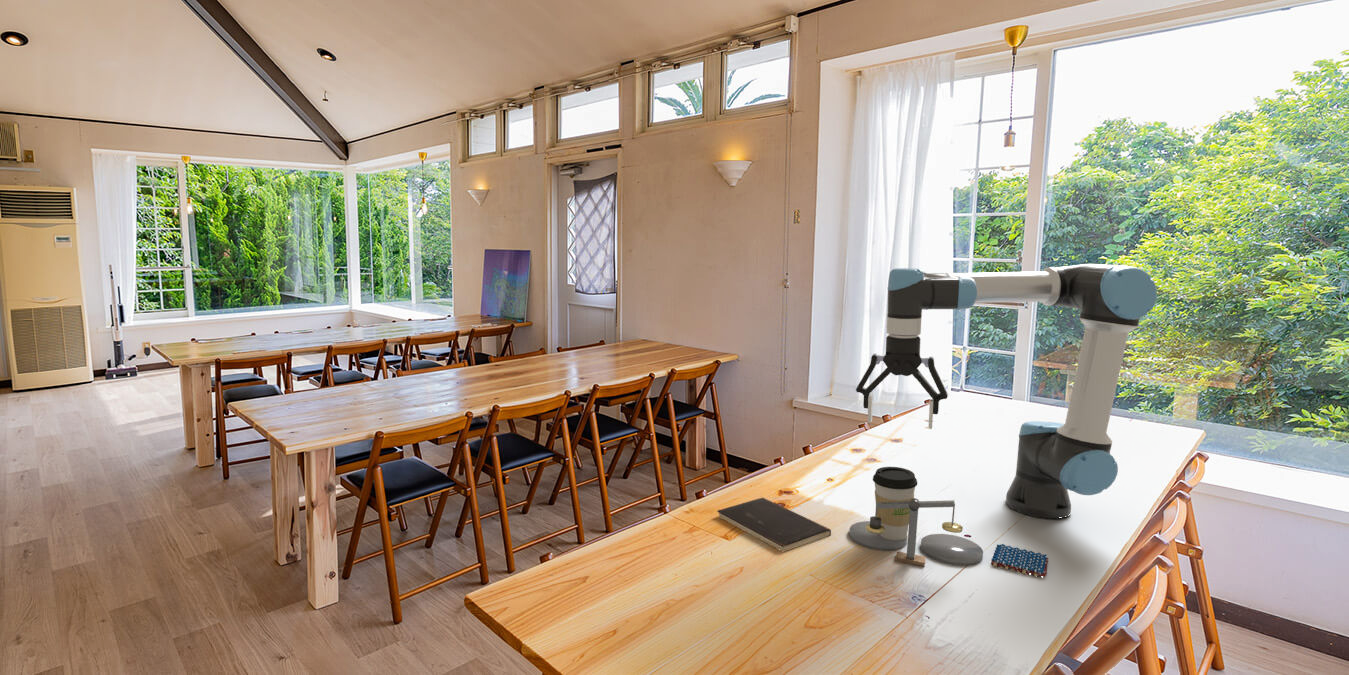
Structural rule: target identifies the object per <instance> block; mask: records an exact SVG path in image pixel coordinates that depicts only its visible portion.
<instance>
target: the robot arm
mask: <svg viewBox="0 0 1349 675" xmlns="http://www.w3.org/2000/svg"><path fill="white" fill-rule="evenodd" d="M1157 297H1158V290H1157V286H1156V283H1155V281H1154V279H1153V278H1152V277H1151V276H1150V274H1149V273H1148V272H1146V271H1145V270H1143V269H1141V268H1139V267H1135V266H1129V265H1125V264H1105V263H1104V264H1100V263H1083V264H1082V263H1081V264H1076V265H1067V266H1056V267H1055V266H1054V267H1051V266H1049V267H1045V268H1044V269H1042V270H1041V271H1004V272H1003V271H1002V272H1001V271H1000V272H999V271H998V272H996V271H995V272H993V271H992V272H945V273H944V272H943V273H942V272H941V273H940V272H939V273H938V272H937V273H936V272H935V273H934V272H933V273H927V272H924V270H923V269H922V268H915V267H914V268H909V267H907V268H906V267H901V268H900V267H899V268H893V269H892V270H890V271H889V276H888V284H887V316H886V334H887V335H886V338H885V354H884V355H879V354H877V353H873V354H872V355H871V357H870V365H869V366H868V368H867V370H866V371H865V373H864V375H863V376H862V377H861V380H860V382H859V383H858V384H857V386H856V388H855V391H856V393H861V394H862V395H863V401H862V402H863V404H862V406H863V408H864V409H867V424H871V423H872V421H873V407H874V405H873V404H874V393H872V392H873V390H876V388H877V387H878V386H879V384H881V383H882V382H883V381H884V380H885V379H886V378H887V377H888V376H889V375H891V374H892V375H894V376H904V377H909V376H913V377H914V378H915V379H916V380H917V382H918V383H919V384H920V386H922V388H923V389H924V390H925V391H926V392H927V394H928V395H929V397H930V398H929V408H928V409H929V410H928V412H929V413H928V429H929V430H932V429H933V422H934V421H933V419H934V417H933V415H938V413H939V409H940V408H939V404H940V401H941V400H947V399H948V395H949V394H948V391H947V389H946V387H945V385H944V383H943V381H942V379H941V377H940V375H939V372H938V371H937V369H936V367H935V358H934V357H933V356H929V357H921V337H920V335H921V332H922V316H923V315H922V314H923V311H924V310H927V311H928V310H956V311H959V310H967V309H970V308H972V307H973V306H974V304H981V303H982V304H983V303H984V304H985V303H989V304H990V303H992V304H993V303H1041V304H1042V305H1043V306H1045V307H1047V306H1048V307H1049V306H1050V307H1051V306H1052V307H1053V306H1054V307H1055V306H1056V307H1065V308H1070V309H1075V310H1079V311H1080V315H1079V321H1080V322H1081V323H1082V324H1083V325H1084V333H1083V335H1082V336H1083V338H1082V341H1081V345H1080V351H1079V356H1078V361H1077V366H1076V371H1075V375H1074V380H1073V383H1072V389H1071V394H1070V398H1069V403H1068V408H1067V413H1066V416H1065V417H1066V418H1065V423H1061V422H1055V421H1054V422H1052V421H1039V420H1038V421H1037V420H1036V421H1026V422H1024V423H1022V424H1021V426H1020V430H1019V434H1018V449H1017V460H1016V470H1015V476H1014V478H1013V480H1012V481H1011V485H1009V488H1008V490H1007V492H1006V496H1005V503H1006V505H1007V506H1008V507H1009V508H1010V509H1012V510H1014V511H1016V512H1017V513H1018V512H1019V513H1021V514H1023V513H1024V515H1027V516H1031V517H1034V516H1035V517H1036V518H1040V517H1042V518H1041V519H1047V518H1059V517H1065V516H1068V515H1069V514H1070V513H1071V512H1072V504H1071V503H1072V502H1071V500H1070V494H1069V491H1070V492H1071V491H1072V492H1074V493H1076V494H1078V495H1082V496H1095V495H1098V494H1100V493H1102V492H1103V491H1104V490H1108V488H1110V487H1111V486H1112V484H1113V483H1114V482H1115V481H1116V478H1117V476H1118V473H1119V472H1118V470H1119V467H1118V466H1119V465H1118V463H1117V461H1116V460H1115V457H1114V456H1113V455H1112V454H1111V449H1112V445H1113V440H1112V439H1111V438H1110V436H1109V435H1108V434H1107V431H1108V428H1109V422H1110V417H1111V413H1112V409H1113V404H1114V399H1115V397H1116V396H1115V395H1116V391H1117V386H1118V382H1119V377H1120V373H1121V368H1122V363H1123V358H1124V353H1125V349H1126V345H1127V340H1128V337H1129V333H1131V332H1133V331H1134V330H1136V329H1137V328H1138V327H1139V322H1140V319H1141V318H1144V317H1145V316H1147V315H1148V313H1150V312H1151V311H1152V310H1153V309H1154V306H1155V305H1156V303H1157V299H1158V298H1157ZM881 362H883V363H884V365H885V367H886V368H885V369H884V370H883V371H882V372H881V373H880V374H879V375H878V376H877V377H876V378H875V379H874V380H873V381H872V382H871V383H870V384H869V385H868V386H867V387H864V386H865V385H866V384H867V382H868V380H869V378H870V376H871V375H872V373H873V371H874V370H875V368H876V366H877V365H879V364H881ZM921 364H923V366H925V368H928V371H929V373H930V376H931V377H932V380H933V382H934V384H935V385H936V387H937V389H938V390H937V391H938V392H939V393H938V392H937V391H936V389H934V387H933V386H932V385H931V384H930V382H929V381H928V380H927V379H926V378H925V376H924V375H923V373H921V370H919V367H920V366H921ZM1070 515H1071V514H1070ZM1070 515H1069V516H1070ZM1069 516H1068V517H1069Z"/></svg>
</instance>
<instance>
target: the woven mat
mask: <svg viewBox="0 0 1349 675" xmlns="http://www.w3.org/2000/svg"><path fill="white" fill-rule="evenodd" d="M1047 556H1048V555H1047V554H1043V553H1041V552H1036V551H1033V550H1029V549H1028V550H1027V549H1025V548H1023V549H1021V548H1019V547H1017V546H1016V547H1015V546H1011V545H1007V544H1004V543H1002V544H1001V543H1000V544H996V547H995V549H994V552H993V555H992V558H991V562H990V564H991V565H992V566H993V567H999V568H1000V569H1003V568H1004V567H1005V568H1004V569H1005V570H1007V571H1008V570H1009V568H1010V571H1011V570H1012V572H1014V571H1016V573H1017V572H1019V573H1018V574H1020V573H1022V574H1023V575H1028V574H1029V573H1032V574H1031V575H1033V576H1044V577H1046V575H1047V574H1048V573H1047V571H1048V566H1047V564H1048V562H1049V558H1048V557H1047ZM1026 573H1027V574H1026Z"/></svg>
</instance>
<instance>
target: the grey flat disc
mask: <svg viewBox="0 0 1349 675" xmlns="http://www.w3.org/2000/svg"><path fill="white" fill-rule="evenodd" d="M920 549H921V551H922V552H923V553H924V554H925V555H926V556H927V557H929V558H931V559H933V560H936V561H938V562H941V563H944V564H948V565H953V566H974V565H976V564H979V563H981V562H982V560H983V558H984V550H983V548H982V547H981V546H980V545H978V544H977V543H976V542H975V541H972V540H970V539H968V538H965V537H962V536H958V535H954V534H948V533H932V534H927V535H924V536H923V537H922V538H921V541H920Z"/></svg>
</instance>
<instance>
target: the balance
mask: <svg viewBox="0 0 1349 675" xmlns="http://www.w3.org/2000/svg"><path fill="white" fill-rule="evenodd" d="M955 506H956V503H955V499H953V500H951V499H950V500H924V501H923V500H919V499H918V498H915V497H914V498H913V499H911V501H910V502H877V503H876V502H875V515H874V516H870V517H869V521H870V524H867V525H866V530H867V531H868V532H871V533H875V534H881V533H884V531H885V528H884V527H883V526H882V525H881V518H880V517H877V509H887V508H910V516H909V526H908V532H907V544H906V552H903V551H898V550H897V551H896V554H895V556H894V557H895V560H894V561H895V562H897V563H902V564H906V565H912V566H916V567H922V568H924V567H925V565H926V556H923V555H919V554H916V544H917V533H918V532H917V530H918V518H919V509H921V508H922V509H923V508H926V509H927V508H928V509H929V508H931V509H933V508H952V516H951V517H952V519H951V521H945V522H942V524H941V529H943V530H944V531H946V532H949V533H953V534H954V533H955V534H958V533H962V532H963V529H964V528H963V526H962V525H961V524H959V523H956V522H954V518H955Z"/></svg>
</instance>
